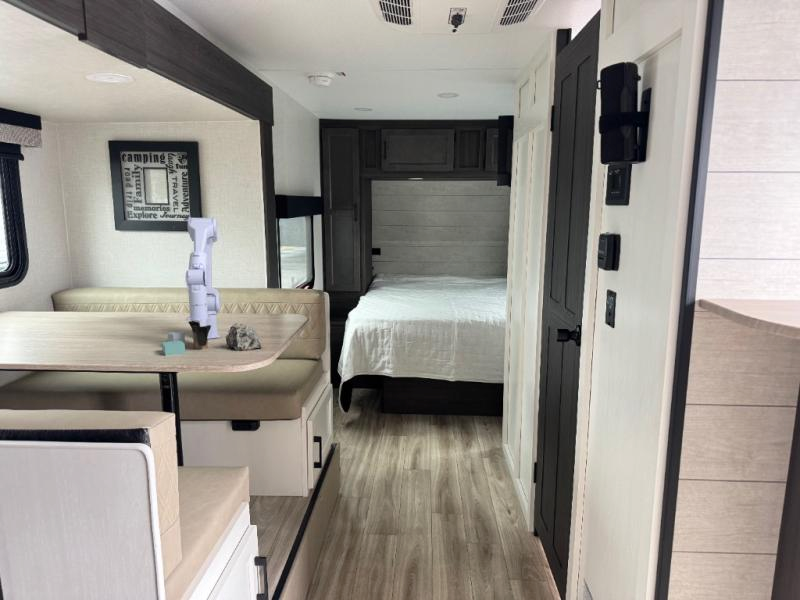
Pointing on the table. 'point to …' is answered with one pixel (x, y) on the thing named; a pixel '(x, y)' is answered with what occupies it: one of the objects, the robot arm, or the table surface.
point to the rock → (243, 337)
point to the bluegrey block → (176, 336)
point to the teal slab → (173, 347)
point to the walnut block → (195, 342)
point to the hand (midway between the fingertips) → (200, 343)
